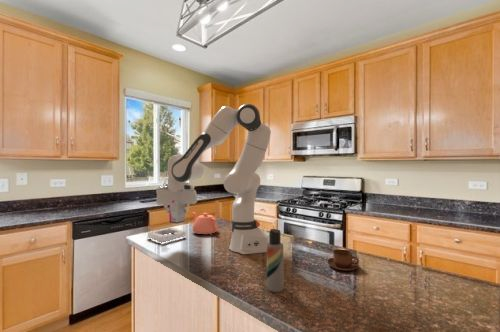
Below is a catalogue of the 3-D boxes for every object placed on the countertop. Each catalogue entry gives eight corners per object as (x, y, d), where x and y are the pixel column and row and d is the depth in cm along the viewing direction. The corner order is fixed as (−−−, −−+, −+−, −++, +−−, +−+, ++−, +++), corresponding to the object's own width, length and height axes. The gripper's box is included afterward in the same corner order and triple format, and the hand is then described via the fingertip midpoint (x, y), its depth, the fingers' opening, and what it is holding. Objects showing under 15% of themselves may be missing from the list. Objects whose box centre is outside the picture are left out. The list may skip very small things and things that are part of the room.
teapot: (183, 232, 161) (182, 212, 161) (201, 227, 173) (201, 209, 173) (207, 238, 148) (207, 216, 148) (225, 232, 160) (225, 212, 160)
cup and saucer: (356, 263, 110) (356, 248, 110) (360, 275, 98) (360, 258, 98) (327, 260, 113) (327, 246, 113) (327, 271, 102) (327, 256, 101)
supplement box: (185, 221, 134) (185, 199, 134) (177, 223, 129) (176, 200, 129) (177, 220, 137) (177, 198, 137) (169, 222, 132) (168, 200, 132)
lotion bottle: (273, 282, 92) (272, 226, 92) (286, 287, 88) (286, 229, 88) (263, 288, 87) (263, 230, 87) (277, 294, 84) (277, 232, 84)
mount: (171, 234, 158) (171, 226, 158) (185, 238, 148) (185, 230, 148) (147, 239, 146) (147, 231, 146) (161, 244, 137) (161, 235, 137)
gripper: (154, 187, 129) (154, 214, 129) (195, 186, 130) (196, 213, 130) (157, 186, 135) (158, 212, 135) (197, 185, 136) (197, 211, 136)
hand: (177, 212), depth 133 cm, fingers closed on supplement box, 8 cm apart
